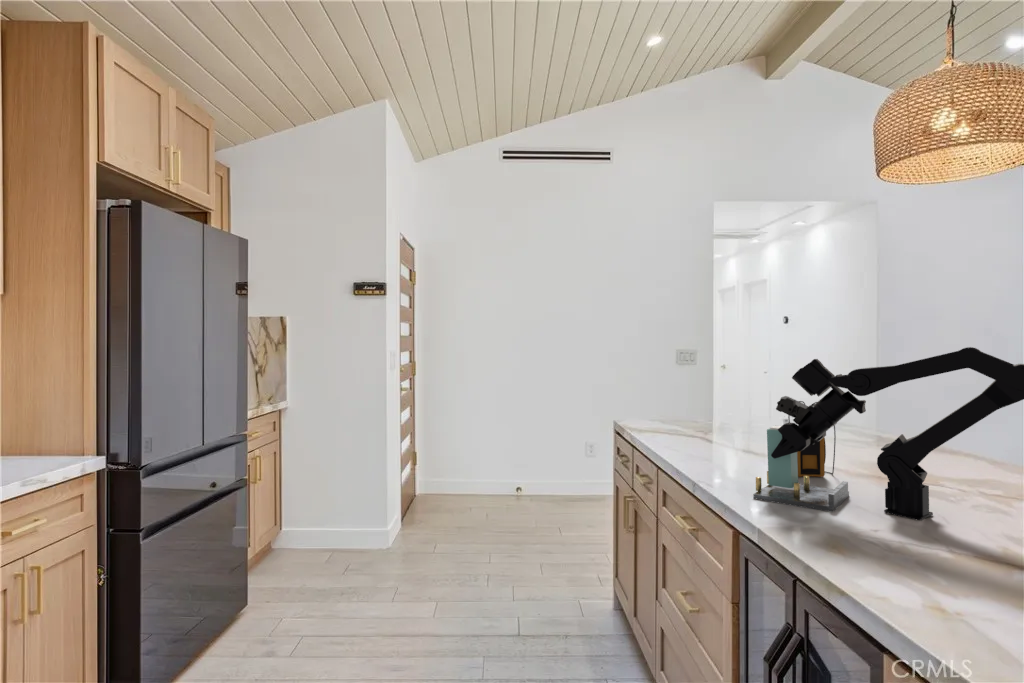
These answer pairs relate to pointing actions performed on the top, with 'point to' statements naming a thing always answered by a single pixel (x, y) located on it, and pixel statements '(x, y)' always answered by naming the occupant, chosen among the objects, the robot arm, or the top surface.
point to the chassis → (804, 495)
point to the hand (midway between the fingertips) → (776, 455)
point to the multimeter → (813, 458)
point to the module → (780, 462)
